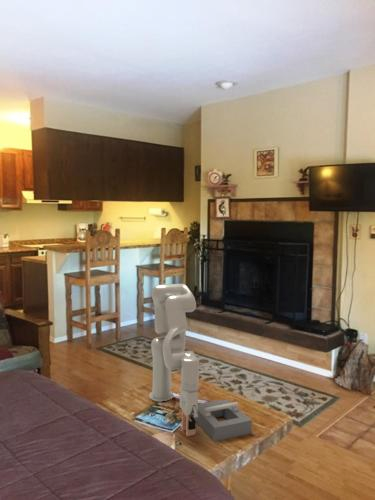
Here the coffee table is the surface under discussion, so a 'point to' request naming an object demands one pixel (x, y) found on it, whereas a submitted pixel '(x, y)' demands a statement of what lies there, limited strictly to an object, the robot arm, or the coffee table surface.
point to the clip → (185, 424)
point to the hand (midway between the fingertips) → (188, 424)
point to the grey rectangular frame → (224, 429)
